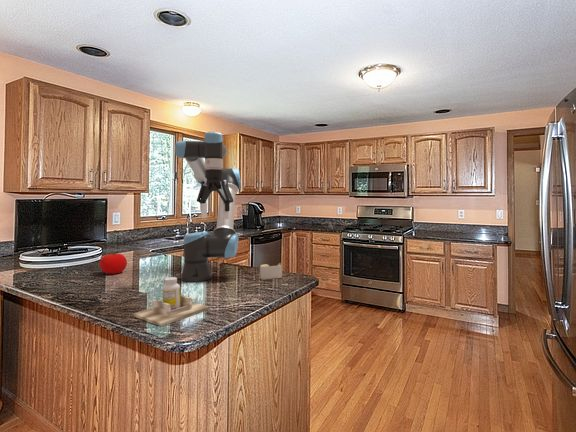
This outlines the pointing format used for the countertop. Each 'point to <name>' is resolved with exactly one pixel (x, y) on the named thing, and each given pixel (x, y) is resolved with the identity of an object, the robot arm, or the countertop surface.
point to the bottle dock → (170, 311)
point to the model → (270, 271)
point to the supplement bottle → (172, 293)
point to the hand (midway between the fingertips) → (214, 218)
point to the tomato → (113, 263)
